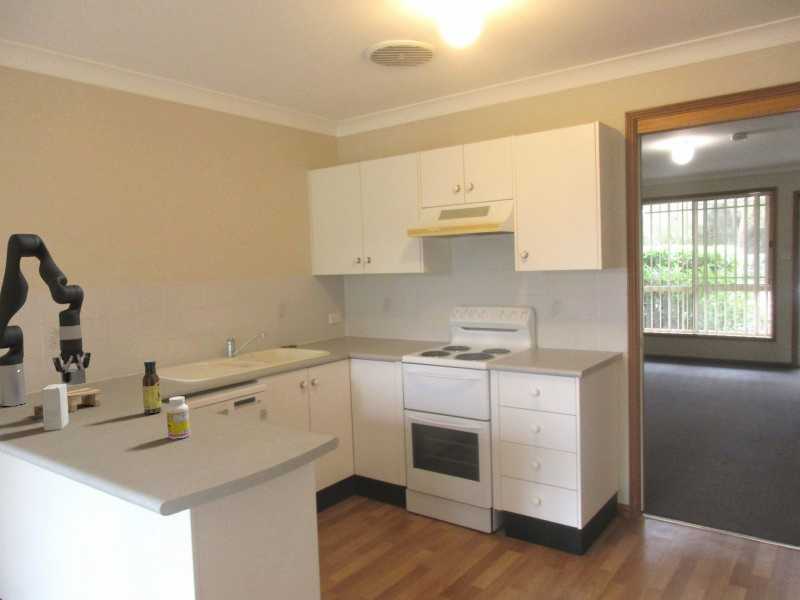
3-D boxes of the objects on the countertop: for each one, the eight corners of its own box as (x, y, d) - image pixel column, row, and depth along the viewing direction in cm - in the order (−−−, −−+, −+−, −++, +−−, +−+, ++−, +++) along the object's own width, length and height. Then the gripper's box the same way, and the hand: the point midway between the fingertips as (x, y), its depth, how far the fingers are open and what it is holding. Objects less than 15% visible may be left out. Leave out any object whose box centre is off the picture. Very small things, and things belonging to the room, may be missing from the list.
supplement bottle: (168, 435, 193) (166, 397, 192) (189, 432, 195) (187, 394, 194) (168, 441, 186) (165, 401, 186) (190, 438, 189) (187, 398, 188)
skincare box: (51, 425, 212) (48, 384, 211) (70, 423, 213) (67, 382, 213) (43, 431, 204) (40, 389, 203) (62, 429, 205) (59, 387, 204)
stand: (57, 409, 236) (56, 393, 235) (86, 402, 246) (85, 387, 246) (71, 412, 231) (70, 396, 230) (100, 405, 241) (99, 389, 240)
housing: (61, 383, 227) (60, 370, 226) (74, 380, 231) (73, 368, 230) (73, 385, 222) (72, 372, 222) (85, 382, 226) (85, 369, 226)
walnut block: (34, 417, 225) (33, 406, 225) (43, 414, 229) (42, 404, 229) (43, 417, 224) (42, 406, 224) (51, 414, 228) (51, 404, 228)
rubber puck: (30, 419, 222) (30, 416, 222) (41, 417, 225) (41, 413, 225) (35, 421, 220) (35, 417, 220) (47, 418, 223) (46, 414, 223)
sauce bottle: (162, 413, 223) (159, 361, 222) (144, 415, 220) (141, 363, 219) (161, 409, 229) (158, 359, 228) (143, 412, 226) (140, 360, 225)
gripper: (83, 334, 233) (86, 377, 234) (46, 339, 221) (49, 384, 222) (94, 335, 229) (97, 378, 231) (57, 340, 217) (60, 385, 218)
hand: (73, 381), depth 226 cm, fingers closed on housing, 4 cm apart
